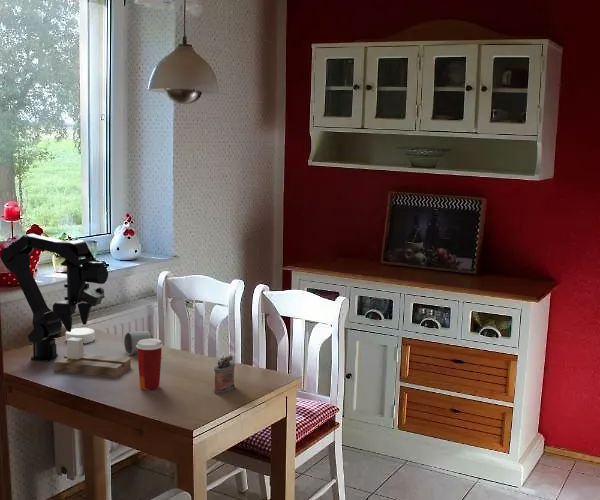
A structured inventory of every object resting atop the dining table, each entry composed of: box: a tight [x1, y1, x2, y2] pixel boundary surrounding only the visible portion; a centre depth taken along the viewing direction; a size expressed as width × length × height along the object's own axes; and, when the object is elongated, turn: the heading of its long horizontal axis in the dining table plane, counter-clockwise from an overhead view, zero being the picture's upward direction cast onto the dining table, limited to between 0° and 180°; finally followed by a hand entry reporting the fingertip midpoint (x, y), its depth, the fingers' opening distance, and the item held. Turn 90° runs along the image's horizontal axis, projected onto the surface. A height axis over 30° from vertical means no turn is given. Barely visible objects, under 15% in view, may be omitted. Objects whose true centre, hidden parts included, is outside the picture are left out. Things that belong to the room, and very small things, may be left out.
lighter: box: [213, 354, 236, 395], centre depth 220 cm, size 8×3×10 cm, turn 148°
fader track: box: [53, 353, 132, 378], centre depth 236 cm, size 21×10×3 cm, turn 78°
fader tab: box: [66, 337, 85, 360], centre depth 237 cm, size 4×3×8 cm
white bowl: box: [65, 327, 96, 344], centre depth 267 cm, size 10×10×4 cm
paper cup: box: [136, 338, 164, 391], centre depth 221 cm, size 8×8×14 cm
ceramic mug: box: [123, 330, 154, 356], centre depth 255 cm, size 11×8×8 cm
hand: (76, 328), depth 239 cm, fingers open, 9 cm apart
